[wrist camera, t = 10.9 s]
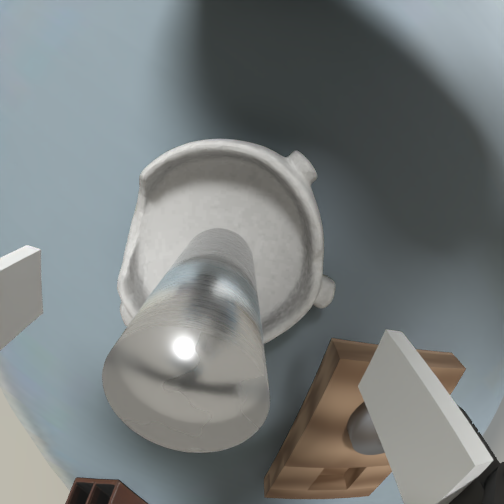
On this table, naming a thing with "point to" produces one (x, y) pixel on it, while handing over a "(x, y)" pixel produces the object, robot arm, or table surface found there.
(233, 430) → the pin
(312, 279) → the dish
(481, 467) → the robot arm
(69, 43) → the table surface
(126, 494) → the letter holder
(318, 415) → the plate
